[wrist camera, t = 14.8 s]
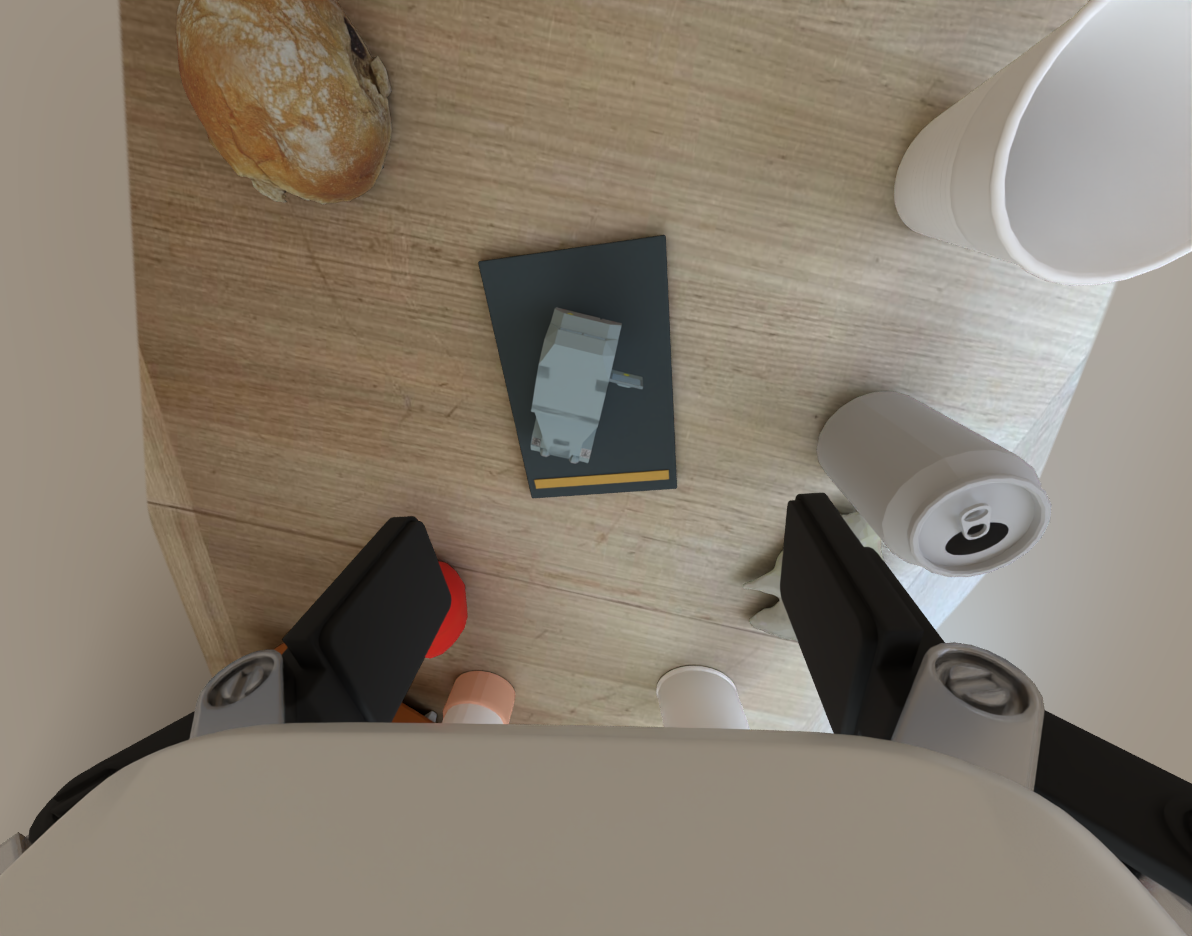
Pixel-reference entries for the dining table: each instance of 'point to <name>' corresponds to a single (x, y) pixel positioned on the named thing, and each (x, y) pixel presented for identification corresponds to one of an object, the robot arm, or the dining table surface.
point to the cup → (1068, 151)
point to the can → (933, 485)
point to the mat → (629, 415)
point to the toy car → (574, 383)
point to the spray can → (700, 699)
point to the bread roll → (287, 94)
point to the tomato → (450, 613)
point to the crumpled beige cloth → (769, 583)
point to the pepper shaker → (479, 699)
